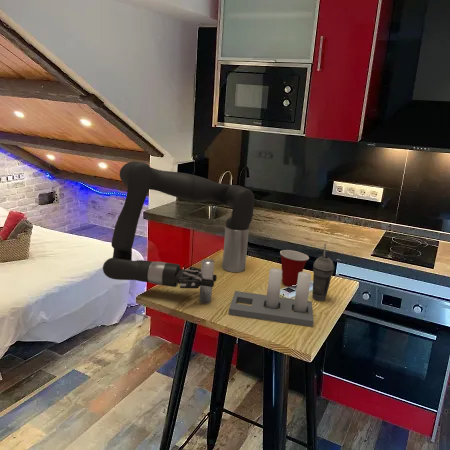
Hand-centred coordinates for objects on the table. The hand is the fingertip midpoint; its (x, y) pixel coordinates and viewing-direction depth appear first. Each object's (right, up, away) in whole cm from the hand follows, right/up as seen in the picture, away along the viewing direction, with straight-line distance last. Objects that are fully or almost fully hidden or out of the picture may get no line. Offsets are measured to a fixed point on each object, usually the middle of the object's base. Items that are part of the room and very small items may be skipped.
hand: (214, 280), depth 140 cm
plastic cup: (+28, -4, +23) cm, 36 cm away
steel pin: (-3, -7, +2) cm, 8 cm away
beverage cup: (+36, -8, +12) cm, 39 cm away
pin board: (+18, -10, -1) cm, 21 cm away
